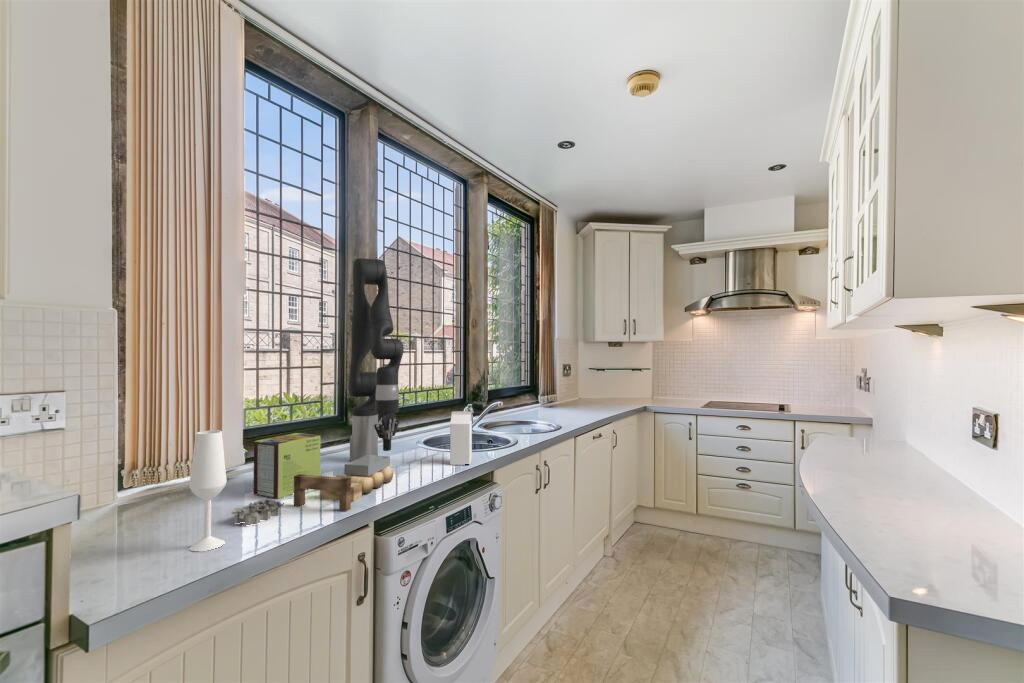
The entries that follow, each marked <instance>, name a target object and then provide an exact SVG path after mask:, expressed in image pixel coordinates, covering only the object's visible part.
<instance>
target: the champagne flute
mask: <svg viewBox="0 0 1024 683" xmlns="http://www.w3.org/2000/svg"><path fill="white" fill-rule="evenodd" d="M224 450H225V449H224V441H223V431H222V430H217V429H214V430H202V431H198V432H195V437H194V445H193V452H192V453H193V454H192V460H191V461H192V462H191V471H190V477H189V486H188V487H189V489H190V491H191V493H192V494H193V495H195V496H197V497H198V498H199V499H201V500H203V501H204V522H203V523H204V525H203V526H204V531H203V532H204V534H203V536H204V537H202V538H200V540H197V542H195V543H194V544H192V545H190V546H191V547H190V546H189V547H190V549H191V550H193V551H206V552H208V551H207V550H211V549H214V550H216V549H215V548H217V549H219V548H218V547H220V548H221V546H222V545H223V544H225V545H226V543H225V542H226V541H225V540H223V539H220V538H218V537H215V536H212V500H213V499H214V498H215V497H217V496H218V495H219V494H220V493H221V492H222V491H223V490H224V488H225V487H226V485H227V472H226V460H225V451H224ZM223 546H224V545H223ZM223 546H222V547H223ZM211 551H212V550H211Z"/></svg>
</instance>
